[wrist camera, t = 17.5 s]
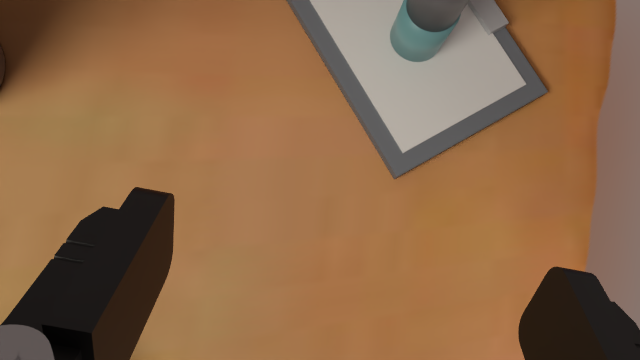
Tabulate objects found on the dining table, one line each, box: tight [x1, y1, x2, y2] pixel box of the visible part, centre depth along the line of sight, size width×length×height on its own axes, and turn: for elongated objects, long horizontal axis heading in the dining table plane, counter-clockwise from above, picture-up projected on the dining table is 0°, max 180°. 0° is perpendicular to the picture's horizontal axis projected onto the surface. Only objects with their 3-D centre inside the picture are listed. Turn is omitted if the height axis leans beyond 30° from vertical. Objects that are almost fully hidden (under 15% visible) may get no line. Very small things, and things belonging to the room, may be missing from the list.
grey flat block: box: [287, 0, 548, 179], centre depth 45 cm, size 20×16×2 cm
